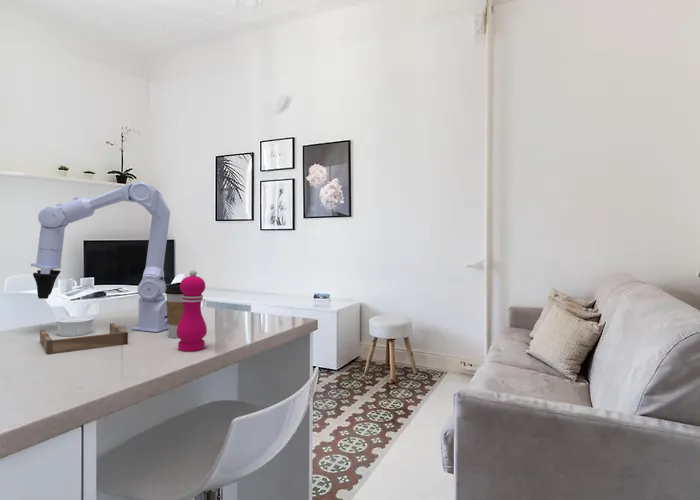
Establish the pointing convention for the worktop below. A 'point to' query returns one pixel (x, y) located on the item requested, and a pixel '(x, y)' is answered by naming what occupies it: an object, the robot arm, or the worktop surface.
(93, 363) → the worktop surface
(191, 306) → the pepper mill
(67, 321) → the ramekin
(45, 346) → the box
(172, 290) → the coffee cup
